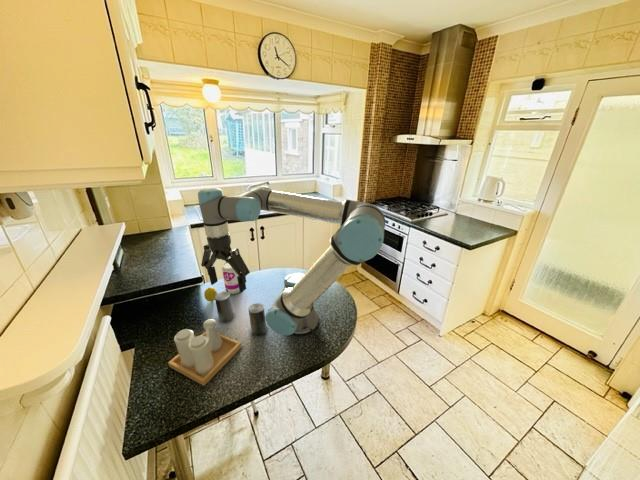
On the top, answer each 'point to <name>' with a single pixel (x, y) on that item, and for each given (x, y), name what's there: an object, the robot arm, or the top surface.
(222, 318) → the grey canister far
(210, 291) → the lemon
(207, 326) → the salt shaker
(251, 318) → the grey canister near
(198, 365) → the white shaker
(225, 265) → the supplement can
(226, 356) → the tray
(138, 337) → the top surface
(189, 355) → the white shaker
